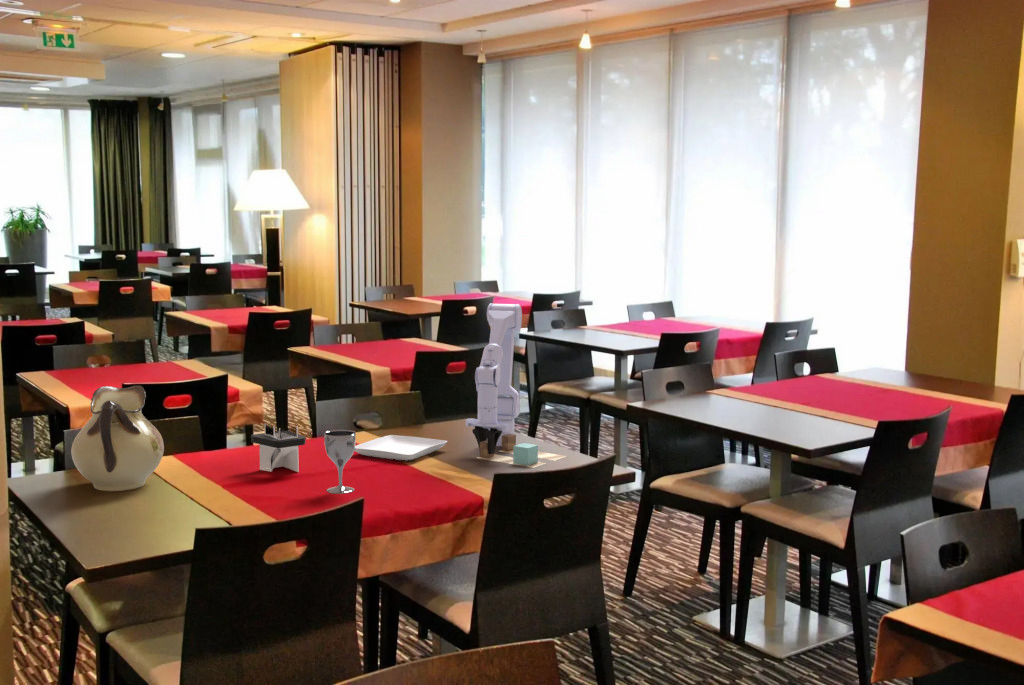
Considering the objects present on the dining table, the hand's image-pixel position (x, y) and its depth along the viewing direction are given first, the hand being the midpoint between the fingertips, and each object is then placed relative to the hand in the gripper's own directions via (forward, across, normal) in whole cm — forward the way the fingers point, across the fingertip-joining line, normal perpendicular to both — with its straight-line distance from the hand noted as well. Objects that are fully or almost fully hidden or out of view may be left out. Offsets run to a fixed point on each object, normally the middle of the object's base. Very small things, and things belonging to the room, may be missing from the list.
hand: (487, 453), depth 308 cm
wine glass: (+2, -10, -51) cm, 52 cm away
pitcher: (+2, -58, -82) cm, 100 cm away
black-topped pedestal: (+3, -37, -46) cm, 59 cm away
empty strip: (+2, +8, +11) cm, 14 cm away
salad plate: (+2, -26, -9) cm, 27 cm away
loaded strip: (+2, +8, 0) cm, 9 cm away
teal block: (+1, +14, 0) cm, 14 cm away
